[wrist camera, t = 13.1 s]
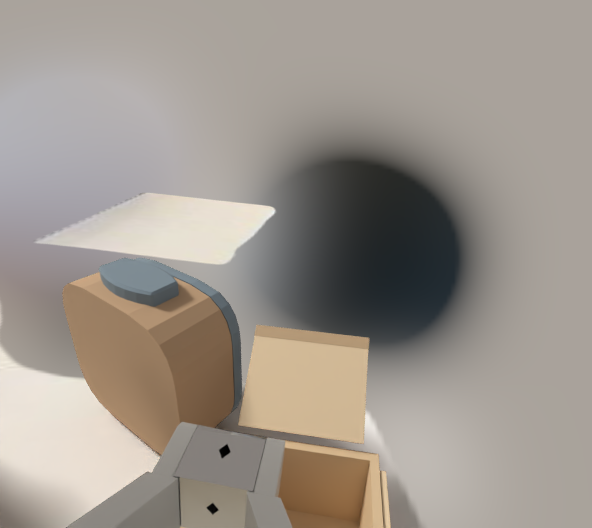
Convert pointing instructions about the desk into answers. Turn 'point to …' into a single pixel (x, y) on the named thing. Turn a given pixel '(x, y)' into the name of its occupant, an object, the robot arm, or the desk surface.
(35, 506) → the desk surface
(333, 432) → the flap
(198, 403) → the alarm clock
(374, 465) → the carton
